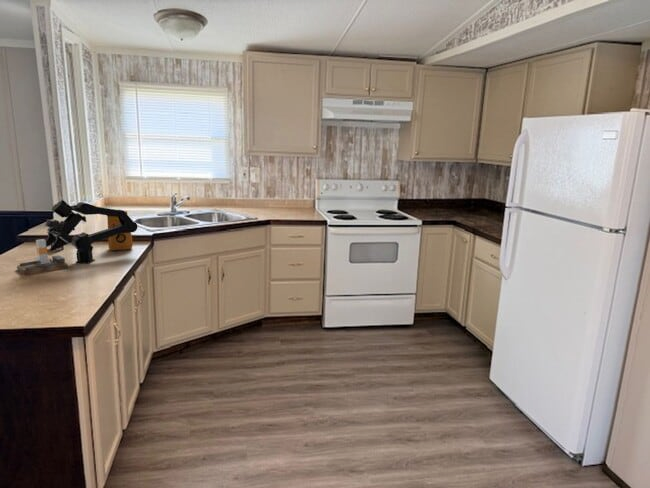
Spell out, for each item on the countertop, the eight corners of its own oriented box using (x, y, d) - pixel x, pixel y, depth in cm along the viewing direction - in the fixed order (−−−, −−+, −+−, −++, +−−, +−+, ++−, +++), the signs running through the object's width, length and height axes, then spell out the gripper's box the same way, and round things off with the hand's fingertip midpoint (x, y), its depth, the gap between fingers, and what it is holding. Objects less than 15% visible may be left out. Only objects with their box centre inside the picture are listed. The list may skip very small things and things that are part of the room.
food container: (69, 250, 245) (67, 233, 243) (57, 252, 241) (55, 234, 238) (62, 246, 253) (60, 229, 251) (50, 248, 249) (48, 230, 247)
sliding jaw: (45, 262, 214) (43, 238, 211) (50, 265, 209) (48, 240, 206) (36, 263, 211) (33, 239, 208) (41, 266, 206) (38, 242, 204)
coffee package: (133, 250, 249) (130, 212, 244) (109, 252, 244) (105, 213, 239) (132, 246, 258) (129, 209, 253) (108, 248, 252) (105, 210, 247)
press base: (59, 262, 221) (58, 254, 220) (68, 267, 213) (67, 259, 212) (17, 269, 208) (16, 260, 207) (24, 275, 200) (23, 265, 199)
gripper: (49, 210, 216) (26, 235, 211) (62, 215, 204) (38, 242, 199) (68, 224, 224) (47, 248, 218) (82, 230, 212) (59, 256, 206)
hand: (47, 248), depth 210 cm, fingers open, 9 cm apart
